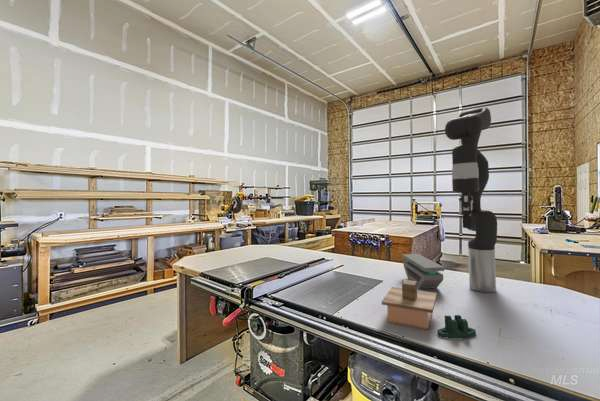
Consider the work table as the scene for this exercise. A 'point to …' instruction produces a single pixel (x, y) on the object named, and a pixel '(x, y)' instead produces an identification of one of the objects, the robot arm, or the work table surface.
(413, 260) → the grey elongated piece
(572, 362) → the work table surface
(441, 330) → the mount
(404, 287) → the lid
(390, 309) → the open storage bin
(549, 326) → the work table surface
